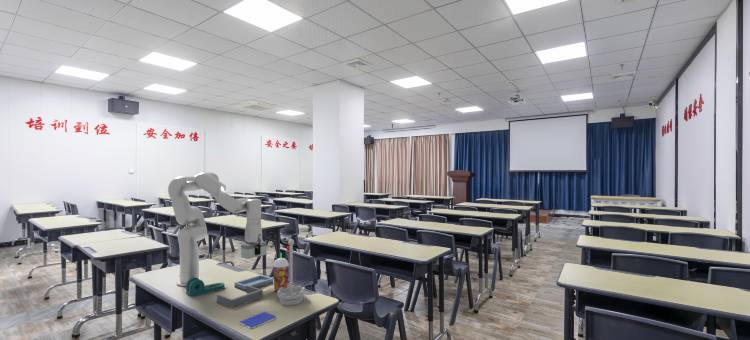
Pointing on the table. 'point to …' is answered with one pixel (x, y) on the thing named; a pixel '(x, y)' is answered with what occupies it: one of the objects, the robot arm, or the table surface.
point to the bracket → (201, 287)
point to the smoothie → (280, 273)
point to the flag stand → (291, 284)
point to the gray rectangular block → (252, 250)
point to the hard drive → (257, 320)
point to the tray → (254, 282)
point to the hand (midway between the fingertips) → (253, 253)
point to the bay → (241, 297)
